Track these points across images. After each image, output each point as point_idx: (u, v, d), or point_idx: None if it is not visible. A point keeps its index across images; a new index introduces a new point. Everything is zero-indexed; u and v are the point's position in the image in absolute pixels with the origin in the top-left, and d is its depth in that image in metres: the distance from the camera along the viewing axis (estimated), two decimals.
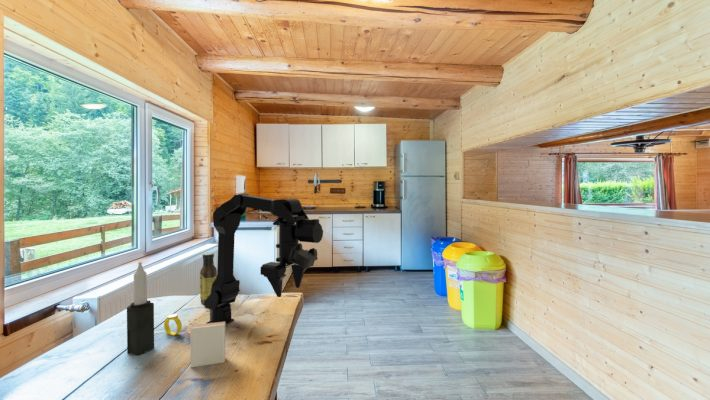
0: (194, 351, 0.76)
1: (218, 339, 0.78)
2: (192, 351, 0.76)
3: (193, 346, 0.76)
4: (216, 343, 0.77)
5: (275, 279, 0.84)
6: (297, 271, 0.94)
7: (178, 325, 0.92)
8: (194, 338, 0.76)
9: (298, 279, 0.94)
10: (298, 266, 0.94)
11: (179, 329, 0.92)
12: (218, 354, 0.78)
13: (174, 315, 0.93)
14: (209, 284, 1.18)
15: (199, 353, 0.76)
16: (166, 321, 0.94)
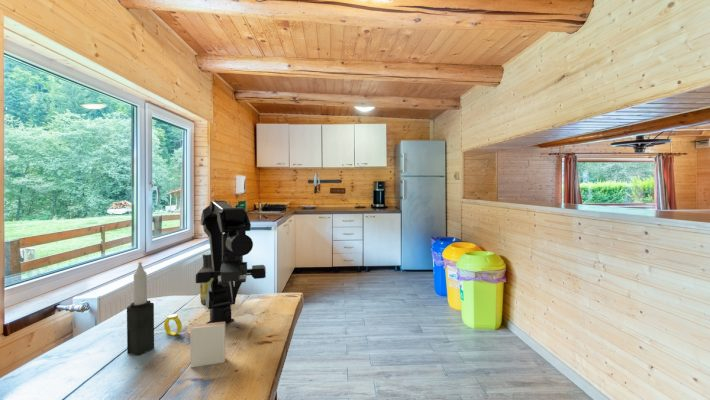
0: (194, 351, 0.76)
1: (218, 339, 0.78)
2: (192, 351, 0.76)
3: (193, 346, 0.76)
4: (216, 343, 0.77)
5: None
6: None
7: (178, 325, 0.92)
8: (194, 338, 0.76)
9: (234, 293, 0.88)
10: None
11: (179, 329, 0.92)
12: (218, 354, 0.78)
13: (174, 315, 0.93)
14: (209, 284, 1.18)
15: (199, 353, 0.76)
16: (166, 321, 0.94)
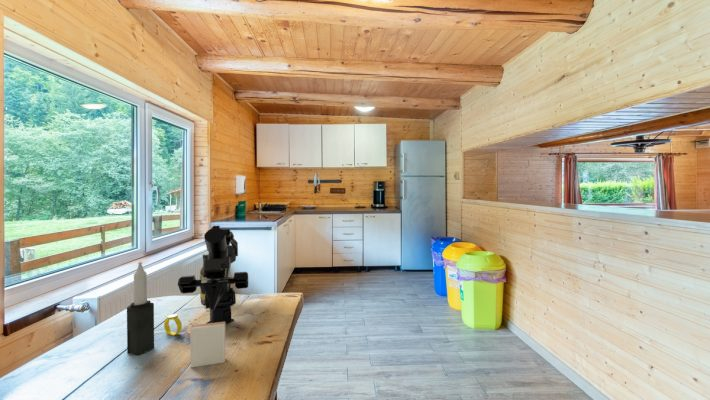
0: (194, 351, 0.76)
1: (218, 339, 0.78)
2: (192, 351, 0.76)
3: (193, 346, 0.76)
4: (216, 343, 0.77)
5: None
6: None
7: (178, 325, 0.92)
8: (194, 338, 0.76)
9: None
10: None
11: (179, 329, 0.92)
12: (218, 354, 0.78)
13: (174, 315, 0.93)
14: None
15: (199, 353, 0.76)
16: (166, 321, 0.94)
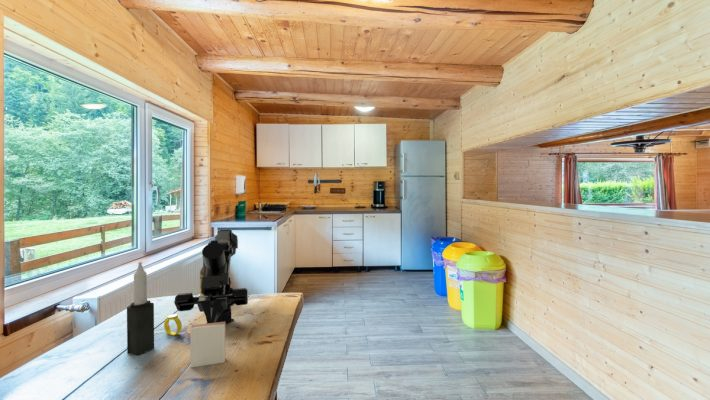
0: (194, 351, 0.76)
1: (218, 339, 0.78)
2: (192, 351, 0.76)
3: (193, 346, 0.76)
4: (216, 343, 0.77)
5: None
6: None
7: (178, 325, 0.92)
8: (194, 338, 0.76)
9: None
10: None
11: (179, 329, 0.92)
12: (218, 354, 0.78)
13: (174, 315, 0.93)
14: None
15: (199, 353, 0.76)
16: (166, 321, 0.94)
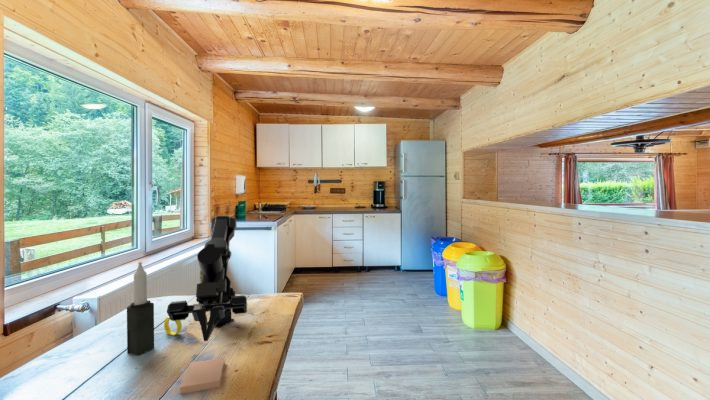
0: None
1: None
2: None
3: None
4: None
5: None
6: None
7: (178, 325, 0.92)
8: None
9: None
10: None
11: (179, 329, 0.92)
12: None
13: None
14: None
15: None
16: (166, 321, 0.94)
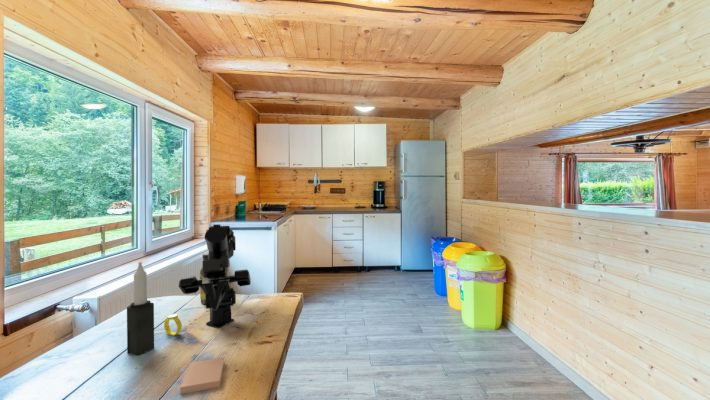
0: None
1: None
2: None
3: None
4: None
5: None
6: None
7: (178, 325, 0.92)
8: None
9: None
10: None
11: (179, 329, 0.92)
12: None
13: (174, 315, 0.93)
14: None
15: None
16: (166, 321, 0.94)
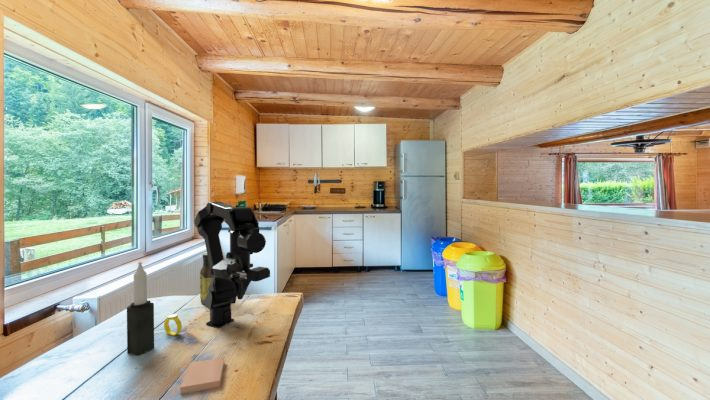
0: None
1: None
2: None
3: None
4: None
5: None
6: None
7: (178, 326, 0.92)
8: None
9: None
10: None
11: (179, 329, 0.92)
12: None
13: (174, 315, 0.93)
14: (209, 284, 1.18)
15: None
16: (166, 321, 0.94)
